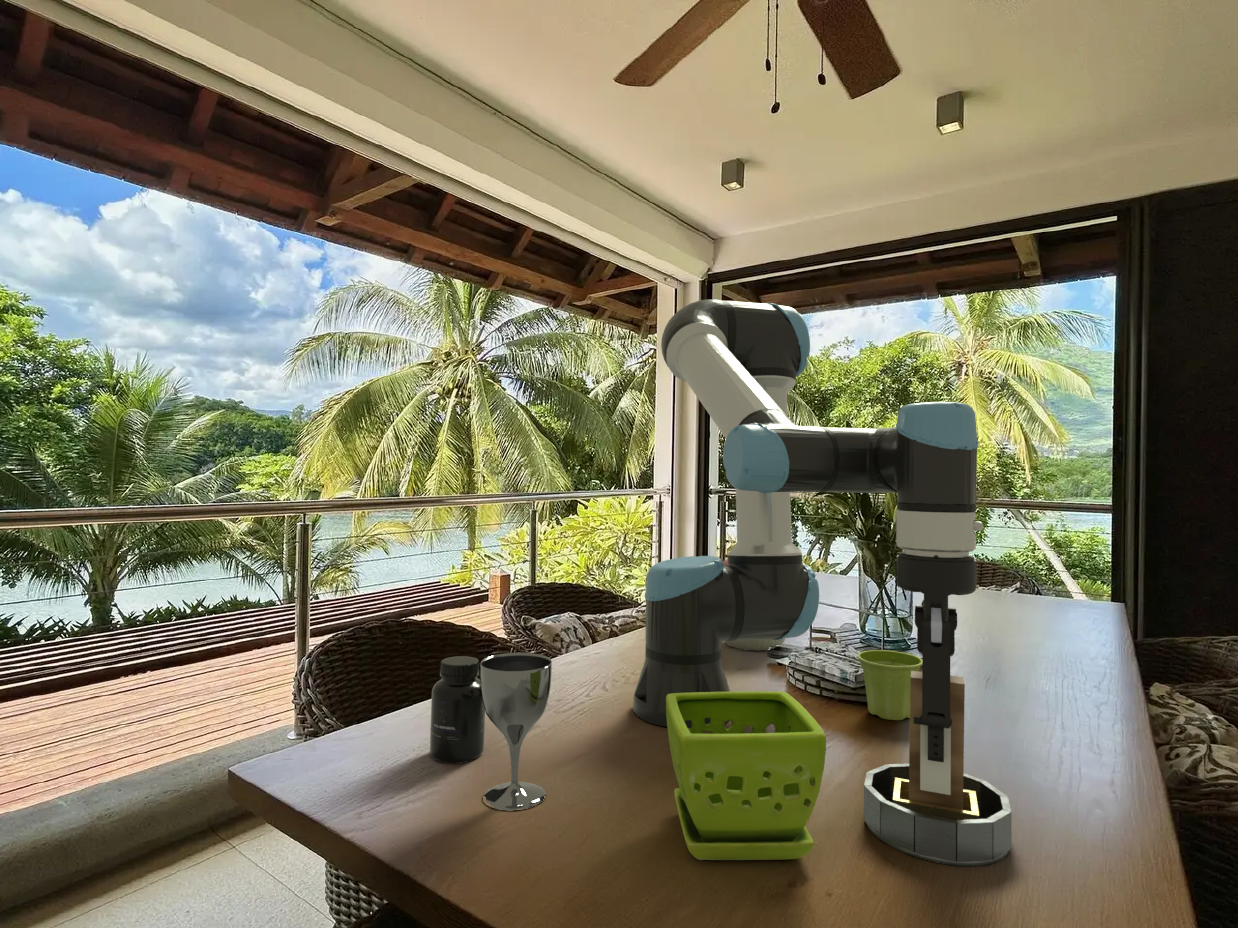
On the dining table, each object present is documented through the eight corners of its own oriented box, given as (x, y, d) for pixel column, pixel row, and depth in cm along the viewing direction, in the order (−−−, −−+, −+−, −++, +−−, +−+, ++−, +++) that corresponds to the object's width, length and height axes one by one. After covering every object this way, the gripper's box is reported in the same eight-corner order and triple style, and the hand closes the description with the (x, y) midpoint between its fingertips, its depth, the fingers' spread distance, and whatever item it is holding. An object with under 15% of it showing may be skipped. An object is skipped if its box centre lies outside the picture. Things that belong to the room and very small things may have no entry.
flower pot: (788, 804, 77) (789, 688, 77) (830, 876, 63) (832, 735, 63) (661, 804, 77) (663, 688, 77) (676, 877, 63) (678, 735, 63)
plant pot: (929, 727, 102) (929, 667, 102) (861, 722, 104) (862, 663, 104) (915, 706, 111) (915, 651, 111) (853, 702, 113) (853, 648, 113)
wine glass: (516, 774, 84) (518, 649, 84) (564, 794, 79) (566, 660, 79) (463, 797, 78) (465, 662, 78) (511, 820, 73) (513, 675, 73)
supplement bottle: (430, 767, 86) (431, 668, 86) (429, 746, 92) (431, 655, 93) (486, 761, 88) (488, 665, 88) (482, 741, 94) (483, 652, 94)
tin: (859, 846, 68) (859, 805, 68) (869, 790, 81) (870, 755, 81) (1017, 880, 63) (1017, 835, 63) (1002, 814, 75) (1002, 777, 75)
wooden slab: (908, 825, 71) (910, 677, 72) (908, 813, 74) (911, 670, 75) (962, 836, 69) (964, 684, 70) (961, 823, 72) (963, 677, 73)
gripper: (983, 565, 62) (982, 827, 61) (970, 545, 80) (970, 747, 80) (892, 560, 65) (891, 809, 64) (900, 542, 83) (899, 737, 83)
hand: (934, 775), depth 72 cm, fingers open, 7 cm apart
